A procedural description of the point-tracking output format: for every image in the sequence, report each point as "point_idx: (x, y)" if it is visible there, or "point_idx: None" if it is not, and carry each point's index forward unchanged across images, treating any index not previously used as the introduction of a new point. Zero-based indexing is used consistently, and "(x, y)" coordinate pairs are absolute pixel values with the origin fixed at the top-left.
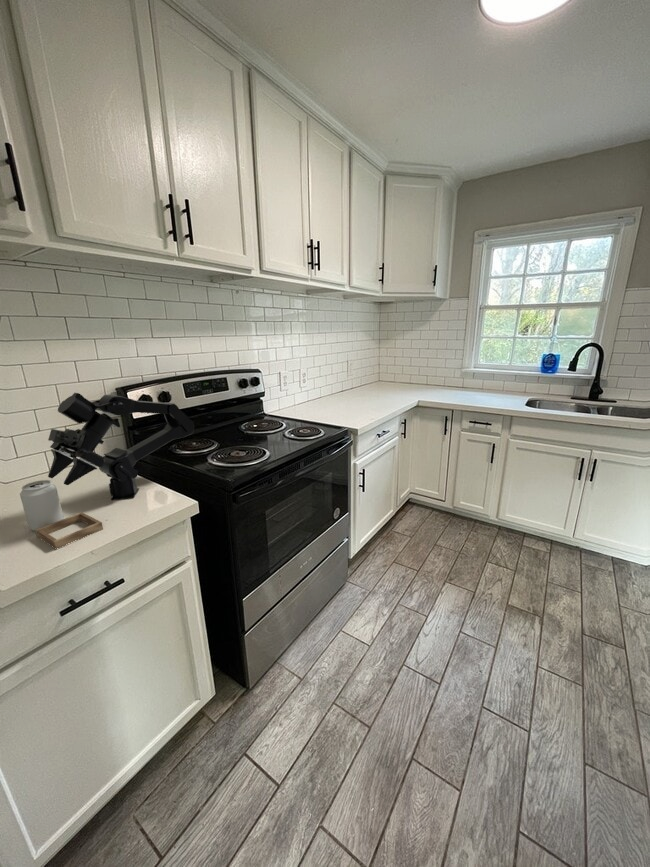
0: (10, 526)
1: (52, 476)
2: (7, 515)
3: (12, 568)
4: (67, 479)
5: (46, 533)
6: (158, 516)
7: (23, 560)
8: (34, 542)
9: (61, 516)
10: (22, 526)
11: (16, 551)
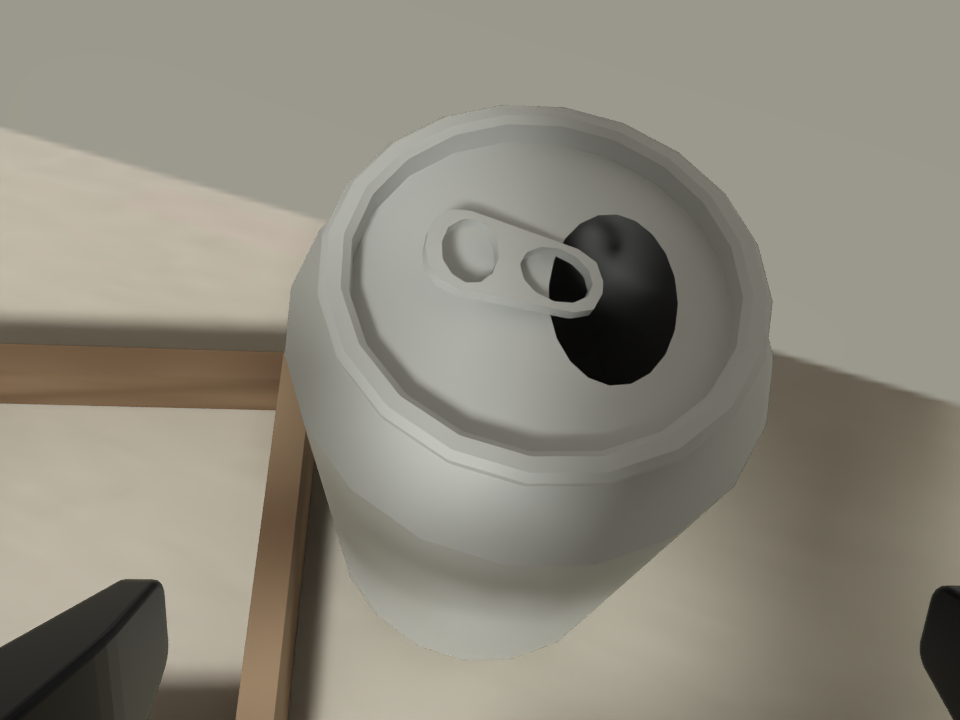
0: None
1: (950, 669)
2: None
3: (32, 158)
4: (31, 642)
5: (139, 370)
6: None
7: (58, 217)
8: (248, 342)
9: (372, 603)
10: None
11: (238, 239)
